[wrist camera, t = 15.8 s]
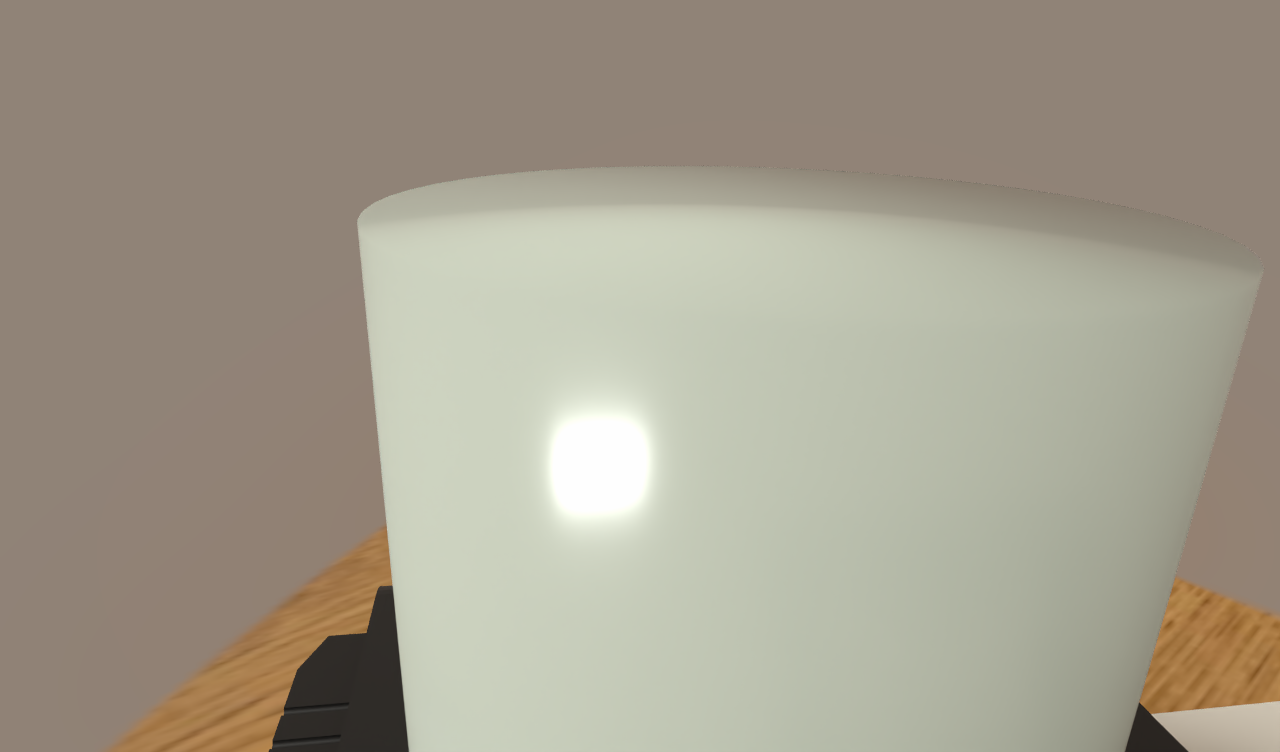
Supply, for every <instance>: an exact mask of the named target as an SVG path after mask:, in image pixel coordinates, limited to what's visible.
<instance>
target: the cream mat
mask: <svg viewBox="0 0 1280 752" xmlns="http://www.w3.org/2000/svg"><path fill="white" fill-rule="evenodd" d="M1151 715H1152V716H1153V717H1154V718H1155V719H1156V720H1157V721H1158V722H1159V723H1160V724H1161V725H1162V726H1163V727H1164V728H1165V729H1166V730H1167V731H1168V732H1169V733H1170V734H1171V735H1172V736H1173V737H1174V738H1175V739H1176V740H1177V741H1178V742H1179V743H1180V744H1181V745H1182V746H1183V747H1184V748H1185V749H1186V750H1187V751H1188V752H1280V701H1278V702H1268V703H1258V704H1248V705H1238V706H1228V707H1218V708H1208V709H1198V710H1188V711H1178V712H1168V713H1158V714H1151Z"/></svg>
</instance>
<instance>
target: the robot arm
mask: <svg viewBox="0 0 1280 752" xmlns="http://www.w3.org/2000/svg"><path fill="white" fill-rule="evenodd" d="M269 752H409V747H408V736H407V726H406V716H405V706H404V695H403V685H402V675H401V665H400V654H399V644H398V634H397V624H396V613H395V603H394V593H393V586H380V587H379V588H378V590H377V594H376V597H375V601H374V605H373V609H372V613H371V617H370V621H369V625H368V629H367V633H362V634H349V635H335V636H328V637H327V638H326V639H325V641H324V642H323V643H322V644H321V645H320V646H319V647H318V648H317V649H316V650H315V651H314V652H313V653H312V655H311V656H310V657H309V658H308V659H307V660H306V661H305V662H304V663H303V664H302V665H301V666H300V667H299V669H298V670H297V672H296V675H295V678H294V681H293V684H292V687H291V690H290V692H289V695H288V698H287V701H286V704H285V707H284V716H281V718H280V721H279V724H278V727H277V730H276V732H275V735H274V738H273V746H272V749H269ZM1125 752H1188V751H1187V750H1186V749H1185V748H1184V747H1183V746H1182V745H1181V744H1180V743H1179V742H1178V741H1177V740H1176V739H1175V738H1174V737H1173V736H1172V735H1171V734H1170V733H1169V732H1168V731H1167V730H1166V729H1165V728H1164V727H1163V726H1162V725H1161V724H1160V723H1159V722H1158V721H1157V720H1156V719H1155V718H1154V717H1153V716H1152V715H1151V714H1150V713H1149V712H1148V711H1147V710H1146V709H1145V708H1144V707H1143V706H1142V705H1141V704H1140V703H1139V704H1138V708H1137V711H1136V715H1135V718H1134V722H1133V725H1132V728H1131V732H1130V735H1129V739H1128V742H1127V746H1126V749H1125Z"/></svg>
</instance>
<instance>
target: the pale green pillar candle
mask: <svg viewBox="0 0 1280 752" xmlns="http://www.w3.org/2000/svg"><path fill="white" fill-rule="evenodd" d="M357 223H358V234H359V244H360V255H361V265H362V276H363V285H364V296H365V306H366V317H367V327H368V337H369V346H370V358H371V368H372V378H373V387H374V398H375V409H376V419H377V429H378V439H379V449H380V460H381V470H382V480H383V491H384V499H385V500H384V501H385V510H386V521H387V532H388V542H389V552H390V562H391V573H392V583H393V593H394V603H395V613H396V624H397V634H398V644H399V654H400V665H401V675H402V685H403V695H404V706H405V716H406V726H407V736H408V747H409V752H1125V749H1126V746H1127V742H1128V739H1129V735H1130V732H1131V728H1132V725H1133V722H1134V718H1135V715H1136V711H1137V708H1138V704H1139V701H1140V697H1141V694H1142V690H1143V687H1144V683H1145V680H1146V676H1147V673H1148V670H1149V666H1150V663H1151V659H1152V656H1153V652H1154V649H1155V645H1156V642H1157V638H1158V635H1159V631H1160V628H1161V624H1162V621H1163V618H1164V614H1165V611H1166V607H1167V604H1168V600H1169V597H1170V593H1171V590H1172V586H1173V583H1174V579H1175V576H1176V572H1177V569H1178V565H1179V562H1180V559H1181V555H1182V552H1183V548H1184V545H1185V541H1186V538H1187V534H1188V531H1189V527H1190V524H1191V520H1192V517H1193V513H1194V510H1195V507H1196V503H1197V500H1198V496H1199V492H1200V489H1201V486H1202V482H1203V479H1204V475H1205V472H1206V468H1207V465H1208V462H1209V458H1210V455H1211V451H1212V448H1213V444H1214V441H1215V437H1216V434H1217V430H1218V427H1219V423H1220V420H1221V416H1222V413H1223V409H1224V406H1225V403H1226V399H1227V396H1228V392H1229V389H1230V385H1231V382H1232V378H1233V375H1234V371H1235V368H1236V364H1237V361H1238V358H1239V354H1240V350H1241V347H1242V344H1243V340H1244V337H1245V333H1246V330H1247V326H1248V322H1249V319H1250V316H1251V312H1252V309H1253V305H1254V302H1255V299H1256V295H1257V292H1258V288H1259V285H1260V281H1261V277H1262V274H1263V271H1264V267H1263V265H1262V262H1261V260H1260V257H1259V256H1258V255H1256V254H1255V253H1254V252H1252V251H1251V250H1250V249H1249V248H1247V247H1246V246H1245V245H1243V244H1241V243H1239V242H1237V241H1235V240H1233V239H1231V238H1229V237H1227V236H1225V235H1223V234H1220V233H1217V232H1214V231H1212V230H1209V229H1206V228H1203V227H1201V226H1198V225H1195V224H1192V223H1188V222H1185V221H1181V220H1178V219H1174V218H1171V217H1167V216H1163V215H1159V214H1155V213H1150V212H1147V211H1143V210H1138V209H1134V208H1129V207H1125V206H1119V205H1114V204H1110V203H1104V202H1100V201H1094V200H1088V199H1083V198H1077V197H1071V196H1066V195H1060V194H1053V193H1046V192H1040V191H1033V190H1026V189H1019V188H1011V187H1004V186H1003V187H1002V186H996V185H988V184H980V183H970V182H962V181H953V180H943V179H932V178H922V177H912V176H900V175H899V176H898V175H887V174H875V173H859V172H845V171H829V170H809V169H788V168H760V167H718V166H717V167H716V166H715V167H713V166H646V167H645V166H644V167H606V168H581V169H562V170H547V171H533V172H521V173H511V174H502V175H492V176H484V177H476V178H468V179H461V180H455V181H449V182H444V183H438V184H433V185H428V186H424V187H420V188H415V189H411V190H408V191H404V192H401V193H398V194H395V195H392V196H389V197H387V198H384V199H382V200H380V201H378V202H375V203H373V204H372V205H370V206H369V207H368V208H366V209H365V210H364V211H362V213H361V215H360V217H359V219H358V221H357Z"/></svg>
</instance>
